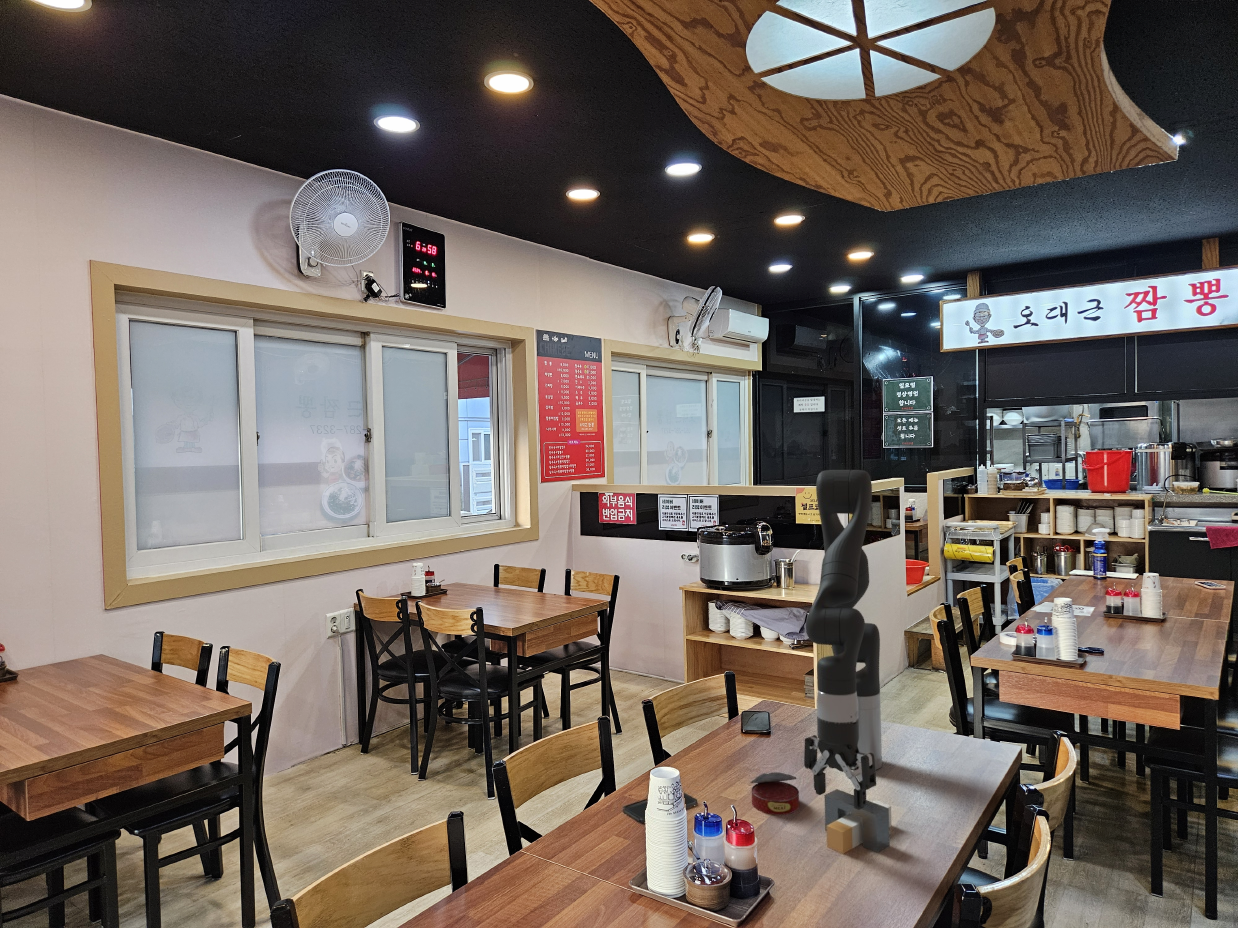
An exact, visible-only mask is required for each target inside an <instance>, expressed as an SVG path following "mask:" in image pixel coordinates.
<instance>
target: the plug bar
mask: <svg viewBox="0 0 1238 928" xmlns="http://www.w3.org/2000/svg"><path fill="white" fill-rule="evenodd" d="M871 802H873V803H876V804H878V805H881V806H884V807H886V808H889V828H890V827H892V806H891V805H889V804H887V803H885V802H882V801H879V800H877V799H874V800H873V801H871ZM861 844H863V822H862V817H860V816H857V815H855V814H852V813H850V814H848V815H846V816H844V817H842V818H840V819H838V820H836V821H835V822H833V823H831V824H829V825H827V831H826V846H827V847H826V848H829V849H831V850H834V851H836V852H839V853H840V854H843V855H844V854H845V853H847V852H849V851H850V850H852V849H854V848H856V847H858V846H859V845H861Z"/></svg>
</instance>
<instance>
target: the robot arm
mask: <svg viewBox="0 0 1238 928" xmlns="http://www.w3.org/2000/svg"><path fill="white" fill-rule="evenodd" d="M817 475H818V476H817V478H816V484H815V486H816V487H815V492H816V502H817V508H818V513H819V519H820V523H821V530H822V537H823V546H824V548H823V549H824V555H823V559H822V562H821V572H820V580H819V588H818V590H817V594H816V595H815V598H814V600H813V603H812V604H811V607H810V609H809V611H808V614H807V617H806V621H805V632H806V635H807V637H808V639H809V640H810V641H811V642H812V643H814V644H815V645H823V646H824V645H825V646H831V650H832V654H833V655H827V656H824V657H821V658H819V659H818V661H817V664H816V665H817V666H816V673H817V675H816V676H817V677H816V679H817V682H816V683H817V692H816V727H817V728H816V732H817V733H816V734H817V735H816V734H813V735H810V736H808V737H805V738H804V753H803V754H804V756H803V757H804V759H803V761H804V763H803V766H804V767H805V769H807V770H808V769H809V770H811V772H812V774H813V789H814V790H815V794H816V795H818V796H821V795H823V794H824V795H825V793H826V792H827V791H826V790H827V787H826V786H827V785H826V783H827V782H826V772H825V771H826V770H827V768H830V769H836V770H837V771H838V772H842V773H844V774H845V776H846V777H847V779H849V780H850V781H851V783H852V785H853V787H854V789H853V795H854V808H855V809H857V810H860V809H862V808H864V806H865V805H866V800H867V790H870V789H872V788H873V787H876V786H877V775H876V773H877V772H876V770H879V769H880V768H881V767H882V766H883V760H882V759H883V755H882V718H881V717H882V714H881V713H882V711H881V683H880V656H881V655H880V654H881V653H880V650H881V648H880V647H881V637H880V629H879V628H878V626H877V624H875V623H870V622H865V618H864V616H863V614H862V613H861V611H859V610H858V609H857V608H855V606H856V605H857V603H858V602H859V601H860V600H861V599H862V598H863V597H864V595H865V594H866V592H867V590H868V588H869V586H870V585H869V584H870V570H869V559H868V556H867V554H866V552H865V550H864V549H863V544H864V540H865V537H866V533H867V532H866V531H867V527H868V522H869V517H870V514H871V513H870V512H871V508H872V499H873V485H872V479H871V475H870V473H869V472H868V471H866V470H862V469H828V470H827V469H826V470H822V471H820V472H819V473H818V474H817ZM838 514H840V515H841V514H842V515H843V514H849V515H850V514H851V518H850V520H849V522H848V524H847V525H846V526H845V527H844V525H843V523H842V522H841V520H840V518H839V515H838ZM858 663H860V664H865V665H864V666H863V667H862V668H860V669H858V670H857V664H858ZM818 750H819V752H820V754H821V756H820V757H819V758H818Z"/></svg>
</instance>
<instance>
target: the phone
mask: <svg viewBox="0 0 1238 928" xmlns="http://www.w3.org/2000/svg"><path fill="white" fill-rule="evenodd" d="M684 798H685V804H686V808H687V809H686V810H689V809H690V807H691V808H693V807H692V806H694V805H696V806H698V799H697V798H695V797H693V796H692V795H689V794H687V793H686V792H684ZM646 806H647V798H645V799H642V800H638V801H636V802H633V803H630V804H629V803H628V804H627V805H624V806H622V813H624V815H626V816H628V817H629V818H631V819H632V820H633V821H636V822H637V823H639V824H641V825H642V824H643V825H644V822H645V810H646ZM688 807H689V808H688ZM694 807H695V806H694Z"/></svg>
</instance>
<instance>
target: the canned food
mask: <svg viewBox="0 0 1238 928" xmlns="http://www.w3.org/2000/svg"><path fill="white" fill-rule="evenodd" d="M794 780H797V777H796V776H793V775H792V774H789V773H788V774H787V773H783V772H778V771H777V772H776V771H775V772H768V773H764V772H763V773H761V774H760V775H758V776H756V777H755V778H754V779H752V780H751V781H750V782H749V783H750V784H754V785H753V786H752V787H751V805H752V806H753V808H754V809H756V810H757V811H759V812H762V813H765V814H769V815H777V816H778V815H787V814H788V815H789V814H792V813H794V812H797V810H799V808H800V791H799V789H798V787H796V786H795V785H793V784H791V783H788V782H786V781H794Z"/></svg>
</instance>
